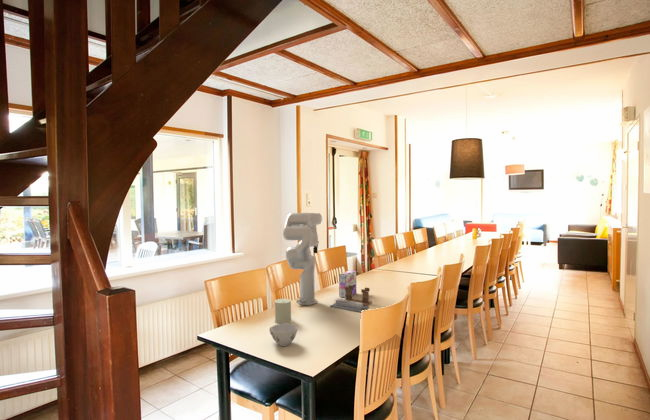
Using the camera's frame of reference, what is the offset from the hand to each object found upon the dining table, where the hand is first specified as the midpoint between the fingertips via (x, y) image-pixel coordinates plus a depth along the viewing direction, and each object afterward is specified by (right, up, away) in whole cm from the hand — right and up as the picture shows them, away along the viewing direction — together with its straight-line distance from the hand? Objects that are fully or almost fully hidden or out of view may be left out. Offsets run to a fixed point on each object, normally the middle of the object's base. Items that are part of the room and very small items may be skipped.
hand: (311, 254), depth 258 cm
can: (-14, -31, -55) cm, 65 cm away
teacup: (-11, -33, -85) cm, 92 cm away
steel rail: (+25, -29, -32) cm, 50 cm away
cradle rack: (+31, -29, -23) cm, 48 cm away
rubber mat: (+25, -30, -32) cm, 50 cm away
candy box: (+26, -29, -5) cm, 39 cm away
